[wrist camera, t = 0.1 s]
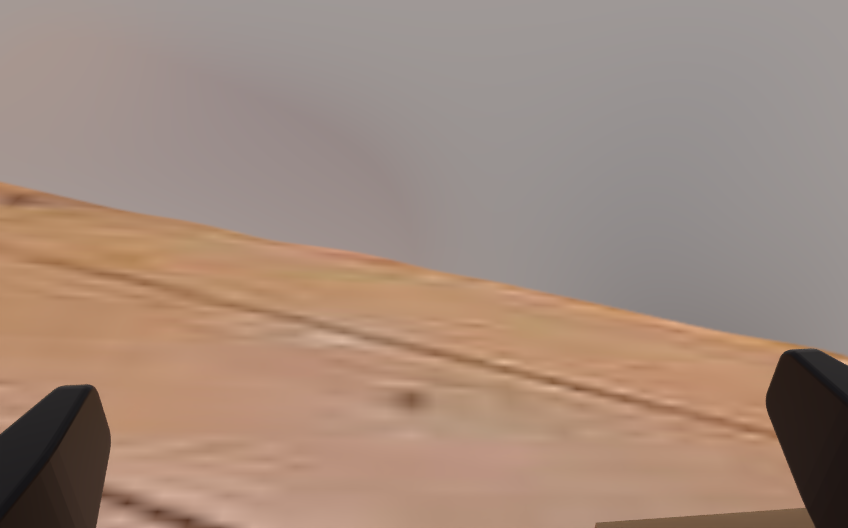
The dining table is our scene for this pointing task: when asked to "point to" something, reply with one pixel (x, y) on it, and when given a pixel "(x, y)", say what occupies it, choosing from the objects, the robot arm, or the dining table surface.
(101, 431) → the robot arm
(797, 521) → the walnut board
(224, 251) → the dining table surface
